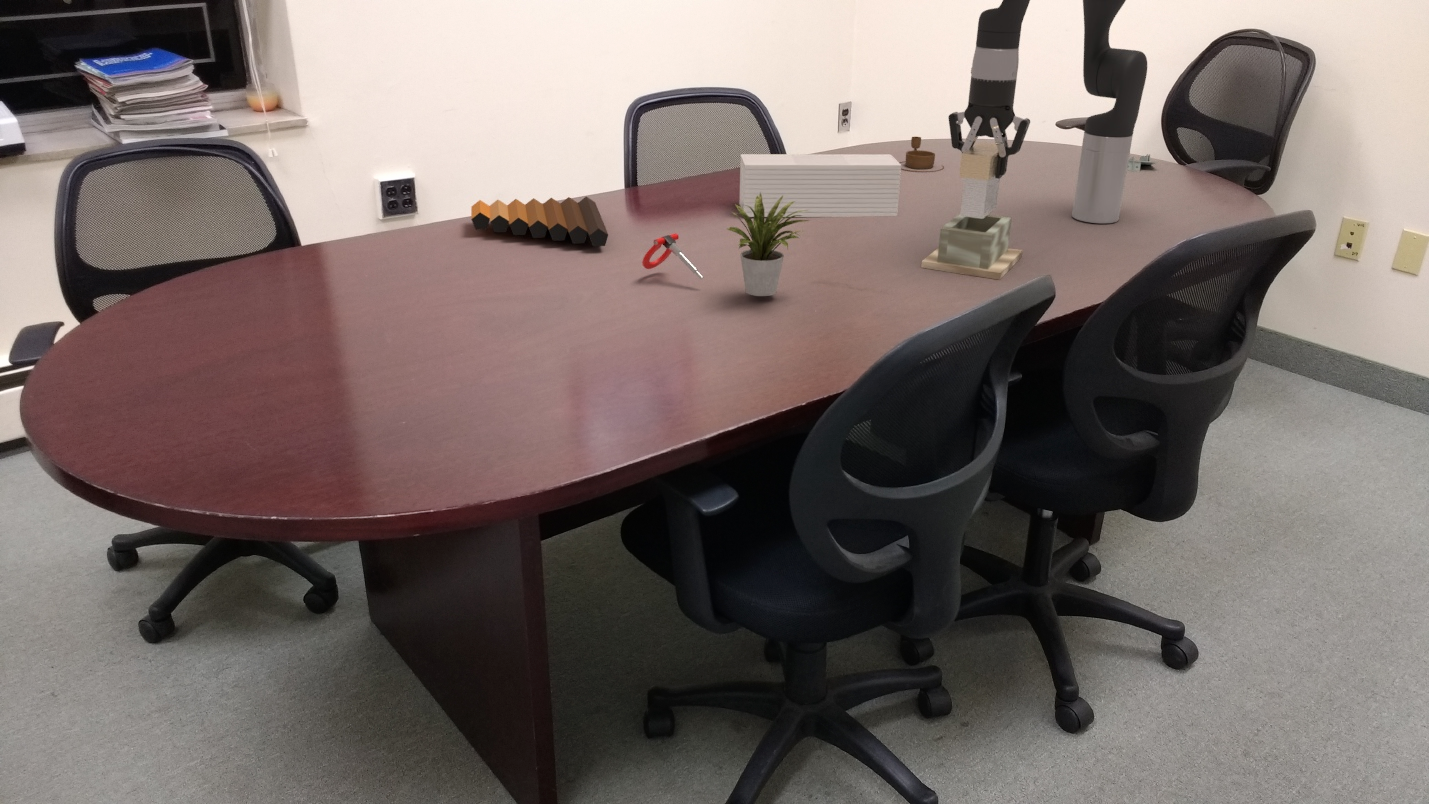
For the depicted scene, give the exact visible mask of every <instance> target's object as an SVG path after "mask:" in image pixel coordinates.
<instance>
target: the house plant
mask: <svg viewBox="0 0 1429 804" xmlns="http://www.w3.org/2000/svg"><path fill="white" fill-rule="evenodd" d="M782 198H783V196H782V197H781V198H780V199H779V200H778V201H777V202H776V204H775V205H774V206H773V208H772V209H771V210H770V212H769V214H768V216H767V217H764V206H763V202H762V195H761V193H760V195H759V197H758V196H757V197H756V200H755V211H754V210H753V209H752V208H751V207H750V206H748V207H749V208H750V209H751V210H752V212H753V214H754V217H753V220H752V218H751V217H749V216H748V215H747V214H746V213H745V211H744V210H743V209H742V208H741V207H740V205H738V204H736V203H734V206H735V207H736V208H737V211H738V214H739V215H741V216H742V218H743V219H744V221H745V223H746V224H745V223H744V222H743V221H742V219H741V218H740V217H739V216H738V215H737V213H736V212H733V211H731V213H732V215H733V214H734V216H735V217H737V219H738V220H739V221H740V223H742V225H743V226H744V227H745V229H746V230H747V232H748V234H749V236H748V235H747V234H746V232H745V231H744V230H742V229H740V228H739V227H736V226H735V227H734V226H731V227H728V228H727V230H728V231H731V232H733V233H736V234H738V235H739V236H740V237H741V236H742V238H739V244H738V246H739V247H738V249H741V248H742V247H746V246H747V247H749V248H750V249H747V250H744V251H741V253H740V262H741V268H742V273H743V282H744V289H745V293H747V294H748V295H749V296H750V295H751V296H755V297H767V296H769V297H770V296H772V295H776V293H777V290H778V286H779V281H780V276H781V272H782V267H783V261H784V254H783V253H782V252H781V251H778V250H776V249H777V248H778V247H779V246H780V245H781V244H782V245H783V246H785V247H786V248H787V250H789V243H788V241H787V240H791V239H800V240H801V237H798V236H800V234H799V232H800V233H801V232H802V233H803V232H804V230H796V231H792V230H784V231H780V230H781V229H782V228H783V229H784V227H788V226H790V225H793V224H797V223H802V222H803V223H804V222H808V221H810V220H809V219H795V220H790V219H793V218H796V217H795V216H801V215H794V216H791V217H788V216H790V215H792V214H795V213H797V212H802V211H808V210H801V211H796V212H794V213H791V214H789V215H787V216H786V217H783V216H784V215H785V213H786V211H787V209H788V207H789V206H790V205H792V204H793V203H794V202H795V201H793V202H791V203H788V204H787V205H785V206H784V207H783V208H782V209H781V210H780V211H779V212H778V214H777V215H775V216H774V214H775V212H776V210H777V208H778V206H779V204H780V202H781V200H782ZM745 206H747V205H745ZM746 225H747V226H746ZM779 231H780V232H779ZM785 234H788V235H785ZM794 234H795V235H794ZM783 235H785V236H783ZM797 235H798V236H797ZM781 236H782V237H781ZM750 238H751V239H750Z"/></svg>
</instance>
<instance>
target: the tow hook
mask: <svg viewBox="0 0 1429 804" xmlns="http://www.w3.org/2000/svg"><path fill="white" fill-rule="evenodd" d="M679 238H680V237H679V234H678V233H671V234H668V235H665V236H661V237H660V238H655V239H654V240H653V245H652V246H651V248H650V249H648V251H647V252H646V253H645V254H644V257H643V258H642V259H643V260H642V262H641V265H642V266H643V267H644V269H647V270H652V269H655V268H656V267H658V266H660V265H661V264H662V263H664V262H665V261H666V260H667V259H668V258H669V256H670V255H671V254H672V253H673V254H674V255H675V257H678V258H679V259H680V260H681V261H682V262H683V264H684V265H685V266H686V267H687V268H688V269H689V270H690V271H691V273H693V274H695V275H696V276H697V278H698V279H700V280H703V279H704V276H703V275H702V273H700V272H699V269H698V268H697V267H696V266H695V264H693V263H692V261H690V260H689V258H688V257H686V255H685V254H684V253H683V252H682V249H681V248H680V247H679V246H678V245H677V241H678V240H679ZM662 245H663V247H665V251H664V252H663V254H661V256H660V257H658V258H657V259H655V260H653V261H651V258H652V257H653V255H654V254H655V253H656V252H657V251H658V250H659V249H660V248H661V247H662Z"/></svg>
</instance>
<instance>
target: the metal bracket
mask: <svg viewBox="0 0 1429 804" xmlns="http://www.w3.org/2000/svg"><path fill="white" fill-rule="evenodd" d="M1135 158H1136V156H1132V157H1131V158H1129V161H1128V167H1127V172H1129V171H1130V172H1131V173H1135V172H1141V165H1142V166H1143V165H1144V166H1145V165H1146V166H1152V165H1154V164H1155V165H1156V164H1157V163H1158V161H1151V154H1146V155H1142V156H1140V157H1139V160H1135Z"/></svg>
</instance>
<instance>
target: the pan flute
mask: <svg viewBox="0 0 1429 804" xmlns="http://www.w3.org/2000/svg"><path fill="white" fill-rule="evenodd" d="M470 208H471V213H470V214H471V215H470V217H471V218H470V219H471V222H472V224H473V227H474V229H475V231H476V230H478V231H479V230H488V227H489V223H490V224H491V227H492V229H493V231H494V232H493V233H506V232H507V229H508V225H509V227H510V229H511V231H512V234H513V236H523V235H526V234H527V230H528V229H529V231H530V233H531V236H532V238H533V239H535V238H536V239H537V238H539V239H540V238H543V239H544V238H545V237H546V235H547V232H548V231H549V234H550V237H551V240H552V241H556V242H557V241H565V240H566V237H567V232H568V234H569V235H568V236H570V240H571V242H572V245H573V244H585V243H586V241H587V236H589V239H590V242H591V245H592V247H605V246H606V244H607V240H608V238H609V233H608V230H607V228H606V225H605V224H604V223H605V222H604V221H603V218H602V216H601V213H600V211H599V209H598V206H597V203H596V202H595V201H594V200H593V199H591V198H590V197H588V196H585V197H584V198H582V199H580V201H578V202H577V201H576V200H574V199H573V198H571V197H569V196H568V197H567V198H566V199H564V200H563V201H562V202H559V201H557V200H556V199H554V198H553V197H549V198H548V200H546V201H544V202H543V203H542V202H540V201H539V200H537V199H536V198H532V199H530V200H529V201H528V202H526V203H525V204H524V203H523V202H521V201H520V200H519V199H517V198H515V199H514V200H512V201H510V203H508V204H506V203H504V202H503V201H501V200H499V199H496V200H495V201H494V202H492V203H491V204H490V205H489V204H487V203H485V202H484V201H483V200H481V199H479V200H477V202H476V203H474V204H473V205H472V206H471V207H470ZM547 230H548V231H547Z"/></svg>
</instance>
